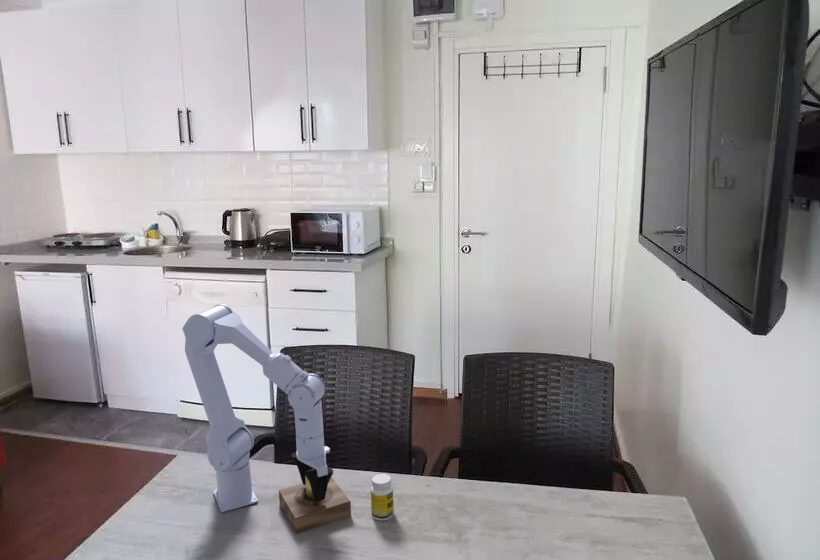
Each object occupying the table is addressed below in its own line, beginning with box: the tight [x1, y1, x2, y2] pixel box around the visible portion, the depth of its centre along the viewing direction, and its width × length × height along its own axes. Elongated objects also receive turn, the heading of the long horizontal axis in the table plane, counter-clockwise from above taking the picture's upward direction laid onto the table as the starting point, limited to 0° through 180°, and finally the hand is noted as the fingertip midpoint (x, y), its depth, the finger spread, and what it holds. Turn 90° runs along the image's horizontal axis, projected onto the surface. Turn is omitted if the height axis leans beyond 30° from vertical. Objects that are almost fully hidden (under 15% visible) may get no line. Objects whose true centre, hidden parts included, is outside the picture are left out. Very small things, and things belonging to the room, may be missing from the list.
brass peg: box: [305, 469, 314, 501], centre depth 129 cm, size 3×3×8 cm
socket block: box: [278, 476, 352, 534], centre depth 130 cm, size 12×12×4 cm
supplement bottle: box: [370, 473, 394, 522], centre depth 127 cm, size 5×5×8 cm
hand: (313, 491), depth 129 cm, fingers open, 7 cm apart
